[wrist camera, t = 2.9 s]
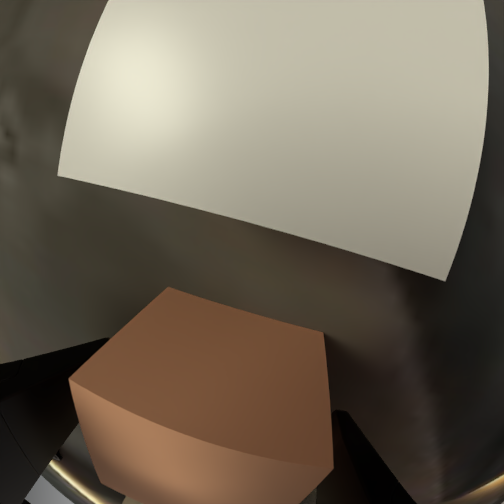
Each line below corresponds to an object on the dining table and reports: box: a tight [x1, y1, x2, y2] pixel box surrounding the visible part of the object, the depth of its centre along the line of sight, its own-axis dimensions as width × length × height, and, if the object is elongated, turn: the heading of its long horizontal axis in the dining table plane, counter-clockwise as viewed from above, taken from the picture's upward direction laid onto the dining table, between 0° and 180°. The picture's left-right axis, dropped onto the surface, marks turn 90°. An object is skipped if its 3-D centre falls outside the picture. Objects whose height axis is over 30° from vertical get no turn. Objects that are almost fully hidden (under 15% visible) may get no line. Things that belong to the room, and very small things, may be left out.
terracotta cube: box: [69, 287, 334, 504], centre depth 7 cm, size 5×5×5 cm
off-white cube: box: [58, 0, 489, 281], centre depth 5 cm, size 5×5×5 cm
